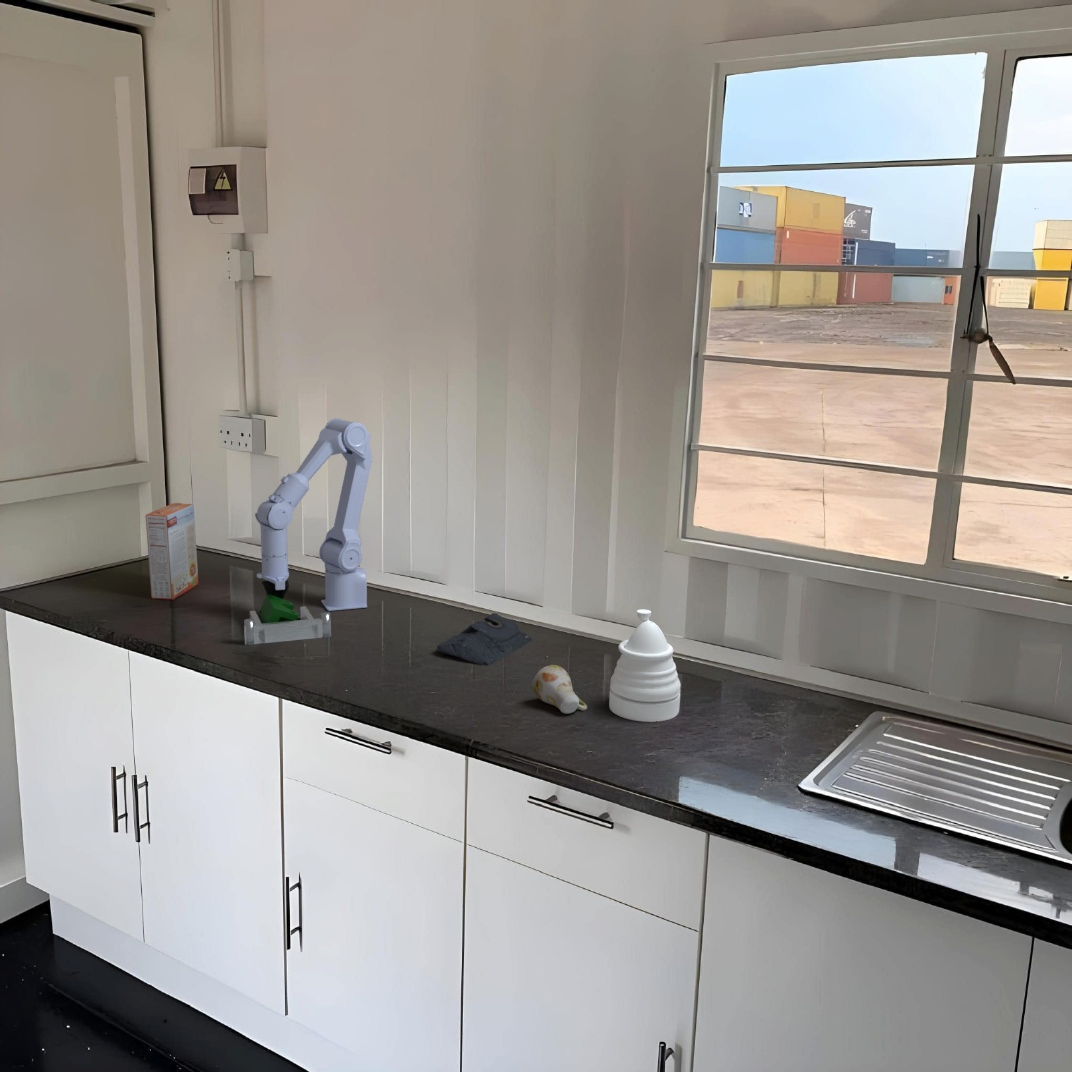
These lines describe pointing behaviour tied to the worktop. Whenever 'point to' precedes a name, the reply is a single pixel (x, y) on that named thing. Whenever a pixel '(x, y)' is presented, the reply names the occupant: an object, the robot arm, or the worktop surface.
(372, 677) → the worktop surface
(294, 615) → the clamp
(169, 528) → the cracker box
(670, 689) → the honey pot
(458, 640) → the folded dark cloth
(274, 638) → the dock
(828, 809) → the worktop surface
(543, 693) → the mug
